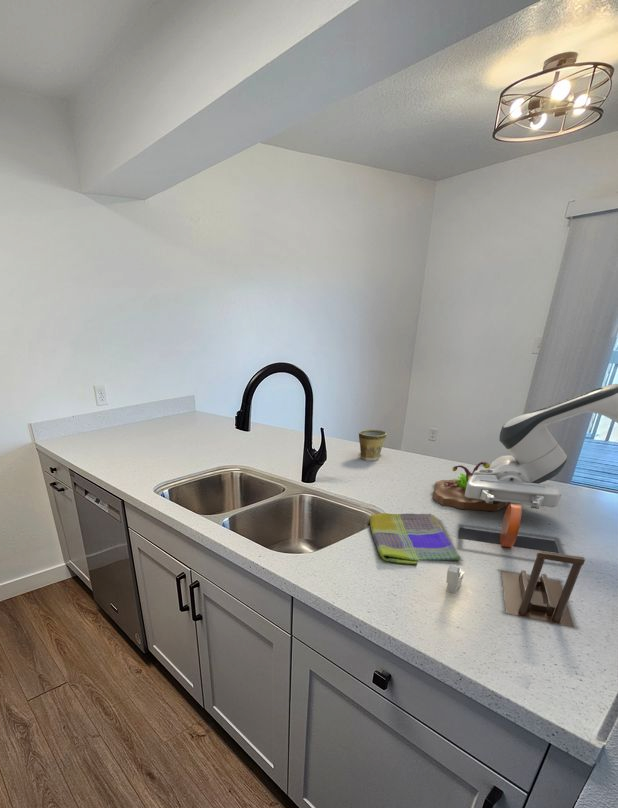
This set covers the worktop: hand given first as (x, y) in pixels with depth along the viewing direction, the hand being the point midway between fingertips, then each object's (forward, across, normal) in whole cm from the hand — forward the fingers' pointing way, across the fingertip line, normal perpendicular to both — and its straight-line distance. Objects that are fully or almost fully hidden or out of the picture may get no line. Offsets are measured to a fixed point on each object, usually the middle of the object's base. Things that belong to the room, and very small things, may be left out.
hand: (512, 503), depth 106 cm
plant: (-21, +8, -8) cm, 24 cm away
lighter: (+35, +11, -8) cm, 38 cm away
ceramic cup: (-55, +42, -8) cm, 69 cm away
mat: (+9, 0, -8) cm, 12 cm away
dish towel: (+14, +21, -8) cm, 26 cm away
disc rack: (+31, -3, -8) cm, 33 cm away
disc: (+9, 0, -7) cm, 12 cm away
